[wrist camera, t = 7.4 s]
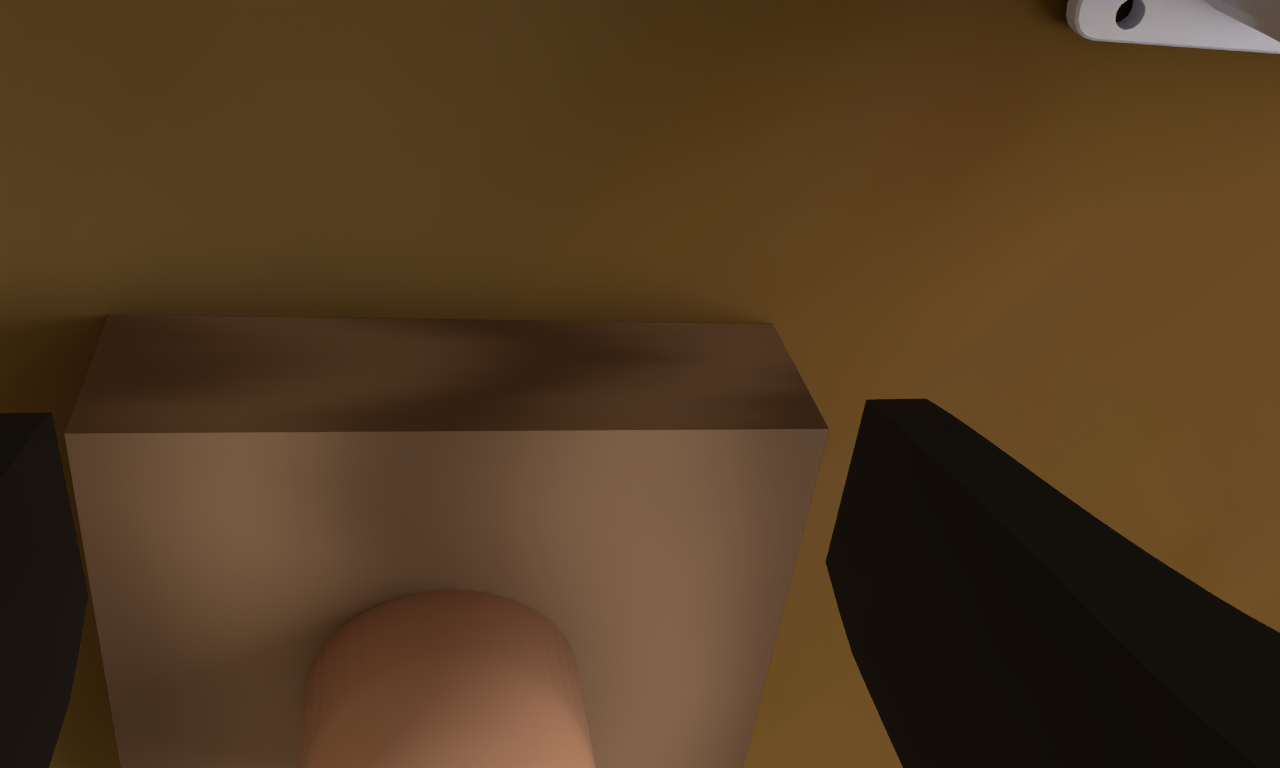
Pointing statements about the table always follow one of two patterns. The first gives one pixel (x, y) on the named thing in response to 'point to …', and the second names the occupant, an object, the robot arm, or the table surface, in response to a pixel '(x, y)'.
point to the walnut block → (437, 513)
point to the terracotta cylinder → (445, 689)
